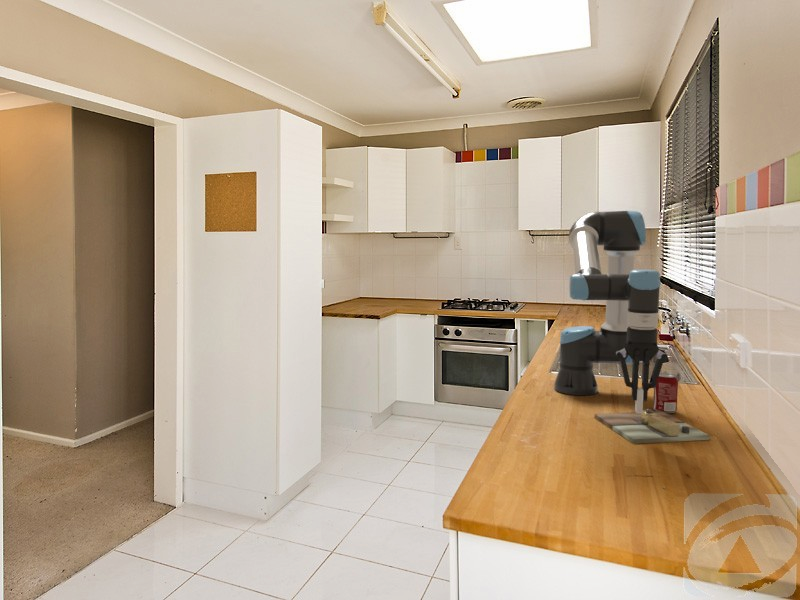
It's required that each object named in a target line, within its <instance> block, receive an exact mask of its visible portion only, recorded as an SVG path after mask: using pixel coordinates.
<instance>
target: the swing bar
mask: <svg viewBox="0 0 800 600" xmlns="http://www.w3.org/2000/svg"><path fill="white" fill-rule="evenodd" d="M654 411H655V410H653V409H651V408H646V409H643V414H641V422H642V423H643V424H647V425H649V426H651V427H653V428H655V429H657V430H658V431H660V432H662V433H664V434H666V435H668V436H677V435H679V427H680V424H677V423H675V422H673V421H671V420H669V419H667V418H665V417H663V416H661V415H658V414H657V413H656V412H654Z"/></svg>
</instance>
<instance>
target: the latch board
mask: <svg viewBox="0 0 800 600" xmlns="http://www.w3.org/2000/svg"><path fill="white" fill-rule="evenodd" d="M653 411H654V412H656V413H657V414H658V415H661V416H663V417H665V418H667V419H669V420H671V421H673V422H675V423H677V424H680V427H679V435H677V436H668V435H666V434H664V433H662V432H660V431H658V430H657V429H655V428H653V427H651V426H649V425H647V424H643V423H642V422H641V413H636V411H631V412H629V411H628V412H607V413H606V412H605V413H603V412H602V413H594V419H596V420H597V421H599V422H600V423H602V424H603V425H605V426H606V427H607V428H609V429H611V430H613V432H616V433H617V434H618V435H620V437H623V438H624V439H626V440H627V441H629V442H630V443H632V444H649V443H666V442H667V443H668V442H669V443H670V442H687V441H688V442H689V441H691V442H693V441H707V440H708V441H709V440H710V439H711V438H710V437H711V436H710V434H707V433H706V432H704V431H702V430H700V429H698V428H696V427H694V426H692V425H690V424H688V423H687V422H685V421H682V420H681V419H678V418H676V417H674V416H673V415H672V414H667V413H665V412H663V411H656V410H653Z"/></svg>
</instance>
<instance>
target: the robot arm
mask: <svg viewBox="0 0 800 600" xmlns="http://www.w3.org/2000/svg"><path fill="white" fill-rule="evenodd" d="M644 219H645V218H644V216H643V214H642V213H641V212H639V211H636V210H635V211H634V210H618V211H613V210H612V211H610V210H609V211H592V212H588V213H586V214H584V215H583V216H581V217H579V218H578V219H577V220H576V221H575V222H574V223H573V224H572V226H571V227H570V229H569V233H568V243H569V245H570V247H571V248H572V252H573V253H572V254H573V265H574V273H575V274H571V275H570V277H569V297H570V299H572V300H579V301H605V302H606V303H605V320H604V322H603V323H602V324H601V325H600V330H596V329H595V328H594V326H592V325H591V326H590V325H589V326H587V325H581V326H580V325H579V326H571V327H568V328H564V329H563V330H562V331H561V332H560V338H559V339H560V340H559V345H560V346H559V369H558V372H557V375H556V378H555V379H554V382H553V383H554V385H553V386H554V387H553V388H554V390H555V391H556V392H559V393H561V394H565V395H573V396H590V395H595V394H597V393H598V390H599V389H598V387H599V386H598V383H597V380H596V375H595V373H594V364H609V365H610V364H611V365H620V367H621V368H620V369H621V371H622V377H623V380H624V384H625V386H626V387H627V388H631V399H632V401H634V402H635V403H634V404H635V405H634V412H636V413H641V414H643V411H644V402H647V401H648V393H649V392H648V391H649V390H650V389H654V388H655V386H656V383H657V380H658V377H659V374H660V373H661V370H662V367H663V364H664V362H665V361H666V360H667V359H668V354H667V353H665V352H664V351H661V350H660V348H659V346H658V332H659V331H658V329H657V327H658V326H659V308H660V307H659V305H660V304H659V303H660V289H661V288H660V287H661V283H662V282H661V277H660V276H661V274H660V272H659V270H657V269H635V257H636V256H635V255H637V254H638V253H639V252H640V250H641V248H640V247H641V246H644V245H645V244H646V239H647V232H646V223H645V220H644ZM598 246H603V252H604V253H605V254H606V255H607V273H606V274H604V273H603V272H602V267H601V262H600V261H601V260H600V255H599V249H598ZM602 273H603V274H602ZM654 357H656V360H655V363H654V366H653V370H652V373H651V375H650V365H651V363H650V362H651V361H652V359H654ZM640 362H642V369H641V370H642V371H641V373H642V374H641V387H640V386H639V369H640ZM628 365H631V366H632V368H631V369H632V370H631V379H630V375H629V371H628ZM649 377H650V378H649Z"/></svg>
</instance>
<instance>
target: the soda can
mask: <svg viewBox="0 0 800 600" xmlns="http://www.w3.org/2000/svg"><path fill="white" fill-rule="evenodd" d="M678 391H679V380H678V379H677V375H676V374H674V373H671V372H660V374H659V377H658V380H657V383H656V386H655V388H653V399H652V400H653V405H652V408H653V409H652V410H653V411H663V412H665V413H667V414H669V415H672V414H673V413H677V411H678Z"/></svg>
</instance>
